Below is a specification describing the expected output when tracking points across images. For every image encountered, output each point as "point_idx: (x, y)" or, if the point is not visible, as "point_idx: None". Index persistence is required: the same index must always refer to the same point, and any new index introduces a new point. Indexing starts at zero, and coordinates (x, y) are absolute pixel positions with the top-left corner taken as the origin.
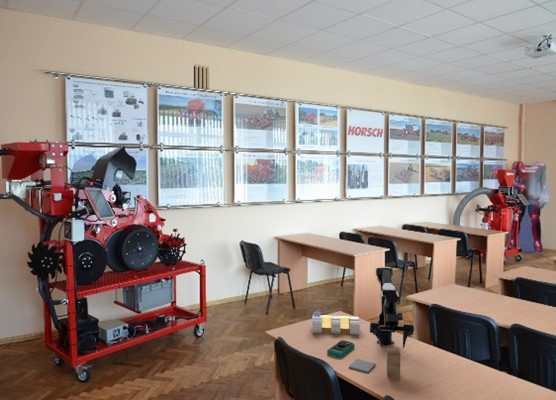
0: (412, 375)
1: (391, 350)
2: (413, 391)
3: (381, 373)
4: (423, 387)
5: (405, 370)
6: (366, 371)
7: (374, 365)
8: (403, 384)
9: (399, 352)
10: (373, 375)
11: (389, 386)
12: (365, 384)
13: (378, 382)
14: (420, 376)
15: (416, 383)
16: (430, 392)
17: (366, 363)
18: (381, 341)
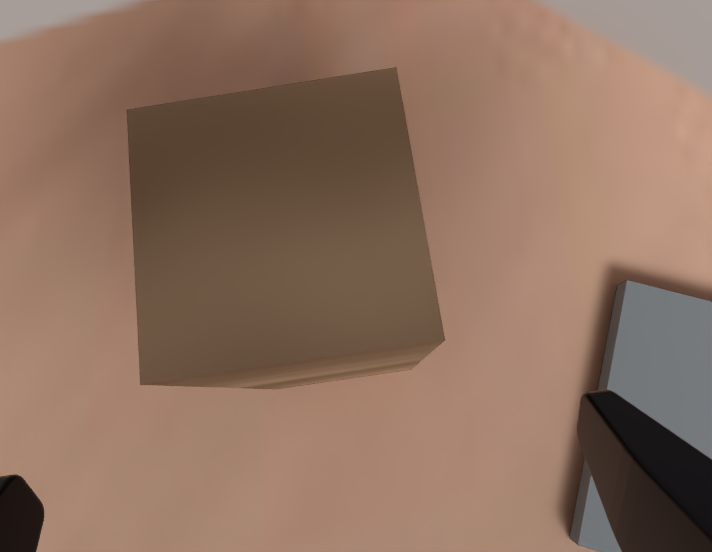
0: (126, 380)
1: (329, 203)
2: (150, 58)
3: (469, 327)
4: (50, 154)
5: (195, 491)
6: (646, 288)
7: (581, 498)
8: None
9: (148, 149)
10: (550, 252)
11: None
12: (596, 46)
13: (477, 121)
14: (42, 382)
15: (105, 212)
16: (3, 85)
17: None
18: (677, 473)
